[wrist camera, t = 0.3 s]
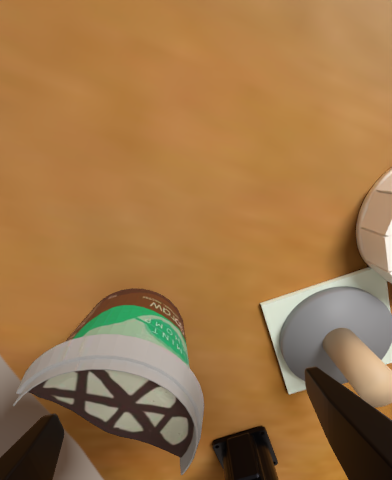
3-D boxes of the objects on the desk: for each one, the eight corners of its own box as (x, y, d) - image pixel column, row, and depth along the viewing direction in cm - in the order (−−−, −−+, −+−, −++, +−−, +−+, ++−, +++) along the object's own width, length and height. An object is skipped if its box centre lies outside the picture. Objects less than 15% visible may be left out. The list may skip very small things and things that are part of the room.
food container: (222, 318, 24) (248, 418, 15) (186, 360, 25) (188, 478, 16) (111, 251, 22) (55, 320, 12) (78, 302, 23) (3, 401, 13)
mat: (393, 358, 27) (396, 361, 26) (287, 391, 27) (289, 394, 27) (381, 262, 23) (384, 264, 23) (260, 303, 24) (261, 305, 23)
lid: (391, 359, 26) (455, 419, 20) (292, 389, 27) (325, 457, 21) (379, 270, 23) (452, 309, 17) (267, 307, 24) (297, 359, 17)
